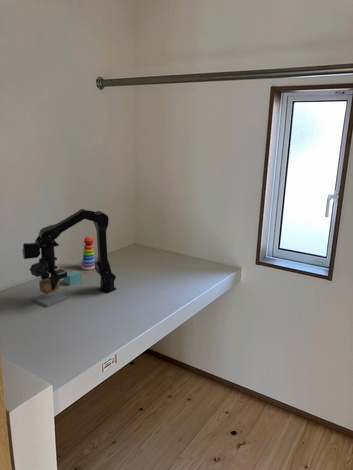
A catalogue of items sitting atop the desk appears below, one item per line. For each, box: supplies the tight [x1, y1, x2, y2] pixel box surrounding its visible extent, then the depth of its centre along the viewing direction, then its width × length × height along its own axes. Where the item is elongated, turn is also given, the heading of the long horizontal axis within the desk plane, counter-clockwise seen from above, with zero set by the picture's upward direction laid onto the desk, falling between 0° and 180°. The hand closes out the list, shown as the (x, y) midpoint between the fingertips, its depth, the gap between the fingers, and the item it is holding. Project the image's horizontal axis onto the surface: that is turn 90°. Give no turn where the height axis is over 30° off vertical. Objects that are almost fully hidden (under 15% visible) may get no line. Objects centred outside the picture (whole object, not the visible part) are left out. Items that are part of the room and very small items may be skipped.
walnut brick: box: [38, 278, 61, 294], centre depth 172 cm, size 5×7×5 cm
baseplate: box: [31, 291, 68, 308], centre depth 174 cm, size 11×11×1 cm
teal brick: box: [63, 270, 82, 287], centre depth 194 cm, size 5×7×5 cm
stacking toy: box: [80, 235, 96, 271], centre depth 212 cm, size 8×8×19 cm
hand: (49, 288), depth 173 cm, fingers closed on walnut brick, 5 cm apart
